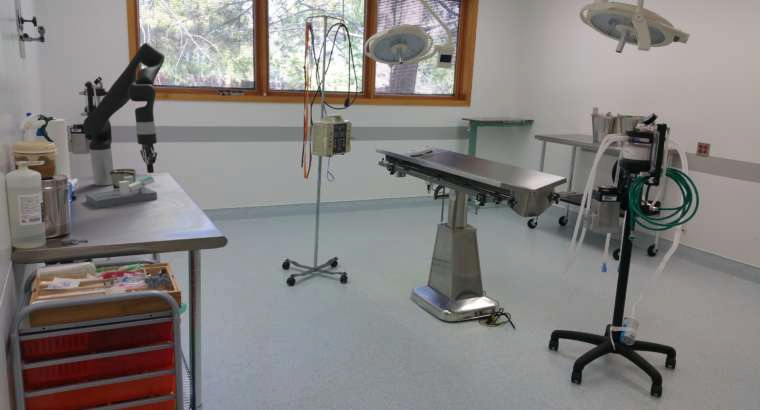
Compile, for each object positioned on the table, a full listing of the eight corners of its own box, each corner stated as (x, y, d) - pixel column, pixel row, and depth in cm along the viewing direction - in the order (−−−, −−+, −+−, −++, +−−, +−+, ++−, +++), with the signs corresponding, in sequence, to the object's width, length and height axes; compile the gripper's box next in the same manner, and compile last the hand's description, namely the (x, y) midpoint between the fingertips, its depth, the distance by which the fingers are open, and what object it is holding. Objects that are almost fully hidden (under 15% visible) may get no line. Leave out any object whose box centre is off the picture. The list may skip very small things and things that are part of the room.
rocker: (128, 189, 231) (126, 184, 230) (150, 180, 237) (148, 175, 236) (132, 191, 227) (130, 186, 226) (155, 182, 233) (153, 177, 232)
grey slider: (124, 189, 238) (122, 176, 236) (132, 188, 240) (130, 175, 238) (127, 190, 235) (125, 178, 234) (135, 189, 237) (133, 177, 236)
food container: (144, 190, 251) (141, 168, 249) (137, 193, 245) (134, 171, 243) (118, 189, 252) (116, 168, 250) (111, 192, 246) (108, 170, 244)
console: (86, 201, 229) (84, 188, 228) (144, 193, 245) (142, 181, 244) (97, 208, 218) (95, 194, 217) (157, 198, 234) (155, 186, 233)
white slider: (119, 194, 228) (118, 181, 227) (127, 193, 230) (126, 180, 229) (122, 195, 226) (120, 182, 224) (130, 194, 228) (129, 181, 226)
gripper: (161, 133, 227) (165, 173, 231) (149, 130, 236) (153, 169, 241) (143, 134, 222) (147, 176, 226) (131, 131, 231) (135, 171, 236)
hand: (150, 172), depth 233 cm, fingers closed
